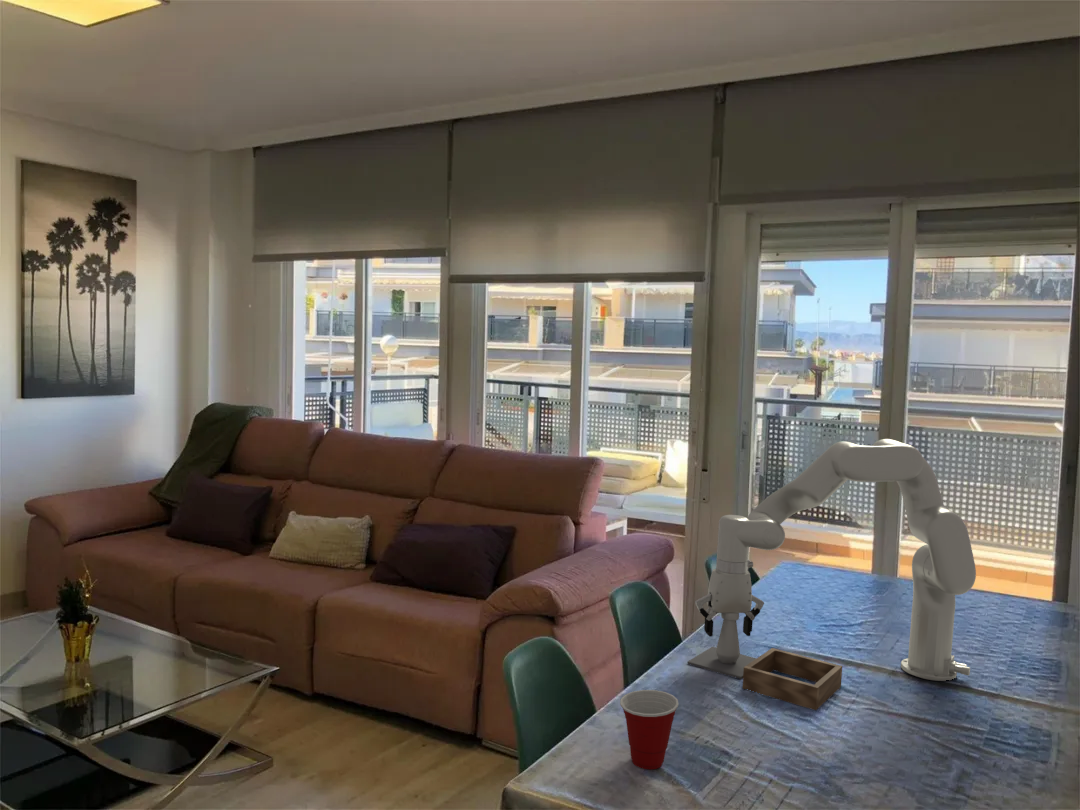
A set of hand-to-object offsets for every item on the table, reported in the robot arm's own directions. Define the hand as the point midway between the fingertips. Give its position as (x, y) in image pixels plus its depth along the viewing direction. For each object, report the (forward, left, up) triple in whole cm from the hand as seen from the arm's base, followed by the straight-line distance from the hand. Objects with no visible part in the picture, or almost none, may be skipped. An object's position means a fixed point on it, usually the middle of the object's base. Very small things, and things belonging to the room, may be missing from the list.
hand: (727, 634), depth 210 cm
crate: (-18, +3, -7) cm, 20 cm away
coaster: (0, 0, -7) cm, 7 cm away
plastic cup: (-10, +57, -7) cm, 58 cm away
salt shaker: (0, 0, -7) cm, 7 cm away
